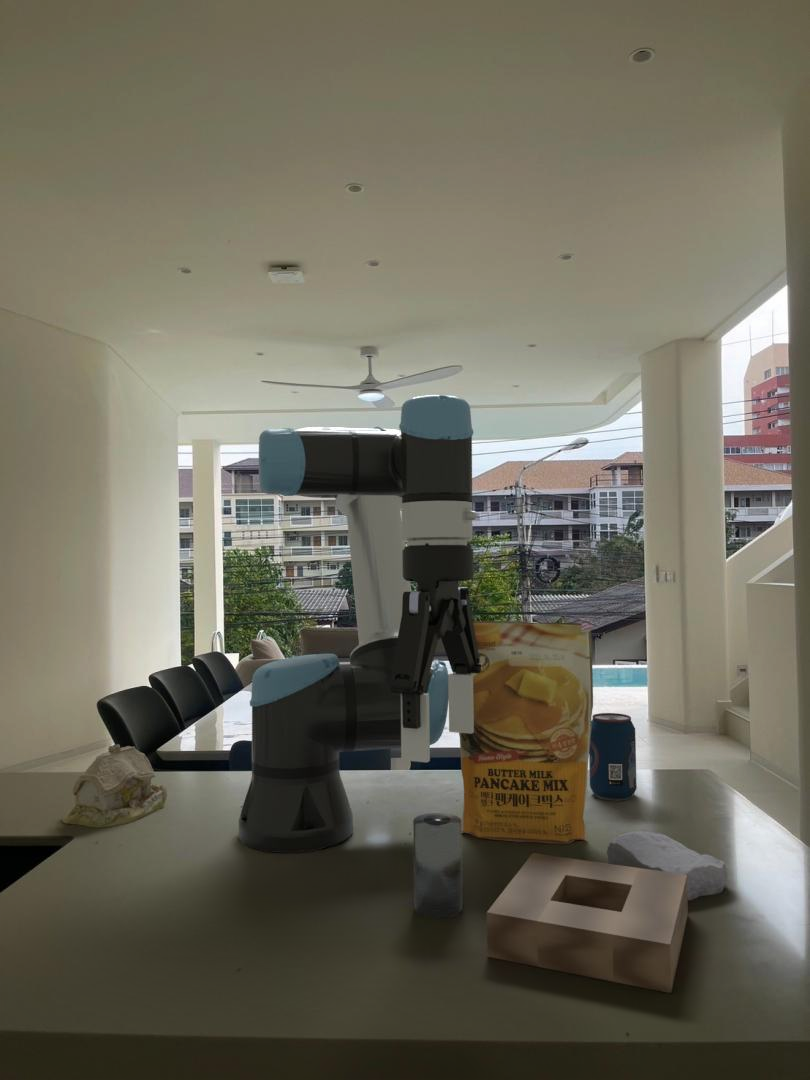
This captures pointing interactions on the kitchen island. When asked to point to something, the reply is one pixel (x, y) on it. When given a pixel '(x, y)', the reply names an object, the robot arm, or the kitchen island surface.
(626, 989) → the kitchen island surface
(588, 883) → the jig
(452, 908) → the cylinder
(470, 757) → the pancake mix bag
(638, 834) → the stone block
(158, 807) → the ceramic model
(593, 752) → the soda can
